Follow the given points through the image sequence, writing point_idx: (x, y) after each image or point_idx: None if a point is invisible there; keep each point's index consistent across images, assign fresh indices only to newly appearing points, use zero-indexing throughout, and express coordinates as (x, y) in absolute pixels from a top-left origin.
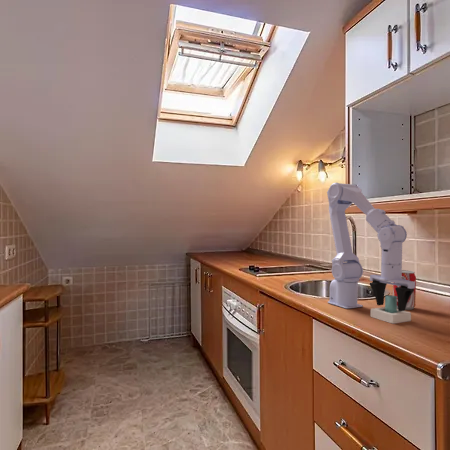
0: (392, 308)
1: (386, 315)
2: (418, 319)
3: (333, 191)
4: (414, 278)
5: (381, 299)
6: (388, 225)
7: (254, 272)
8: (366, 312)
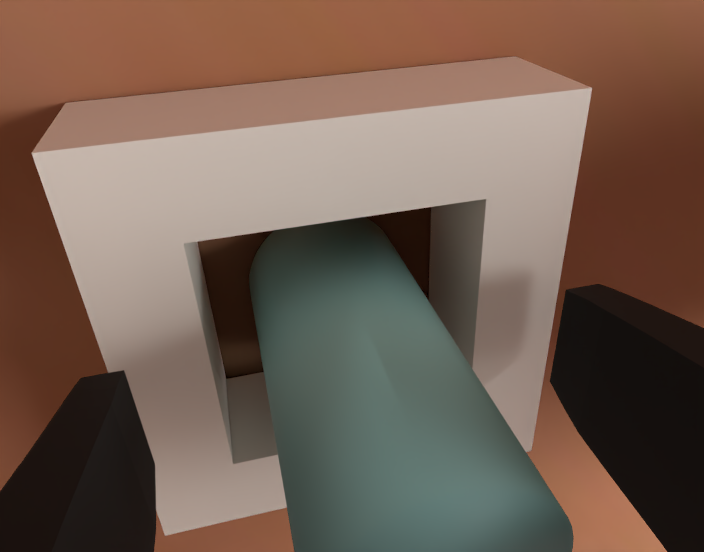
0: (282, 360)
1: (204, 119)
2: (205, 538)
3: None
4: None
5: (622, 421)
6: None
7: None
8: (677, 182)
